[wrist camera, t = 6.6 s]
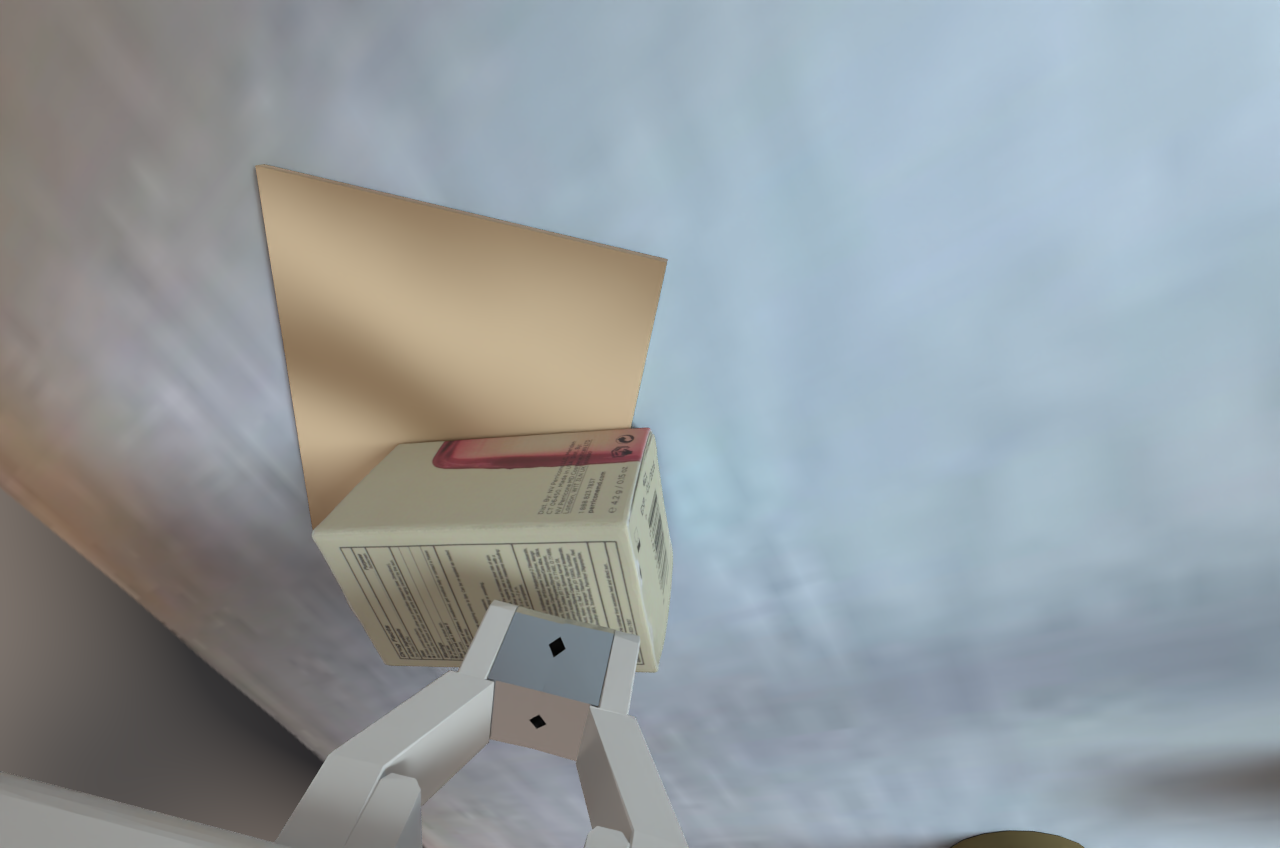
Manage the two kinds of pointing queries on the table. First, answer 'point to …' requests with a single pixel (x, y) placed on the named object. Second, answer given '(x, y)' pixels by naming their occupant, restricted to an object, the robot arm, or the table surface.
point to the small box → (504, 540)
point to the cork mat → (443, 326)
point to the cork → (1017, 841)
